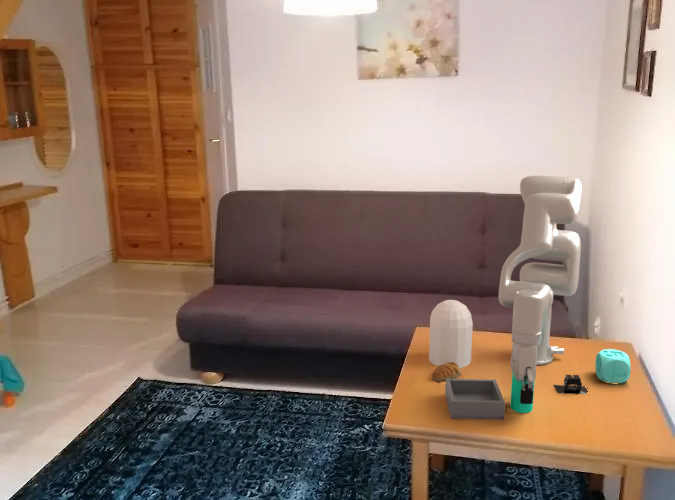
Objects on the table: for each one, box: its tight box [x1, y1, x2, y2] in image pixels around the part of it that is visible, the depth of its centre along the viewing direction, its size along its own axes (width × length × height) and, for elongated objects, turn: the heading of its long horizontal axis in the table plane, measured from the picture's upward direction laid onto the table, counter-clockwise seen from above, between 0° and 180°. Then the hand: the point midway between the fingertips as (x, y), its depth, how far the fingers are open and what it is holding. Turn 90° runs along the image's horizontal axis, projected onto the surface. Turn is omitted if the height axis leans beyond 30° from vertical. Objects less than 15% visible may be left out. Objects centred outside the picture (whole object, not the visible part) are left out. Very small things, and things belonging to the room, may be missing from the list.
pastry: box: [431, 362, 462, 382], centre depth 202 cm, size 9×7×4 cm
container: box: [428, 299, 474, 369], centre depth 212 cm, size 14×13×20 cm
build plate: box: [552, 374, 588, 395], centre depth 192 cm, size 12×7×5 cm, turn 84°
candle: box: [509, 370, 536, 414], centre depth 181 cm, size 6×6×12 cm
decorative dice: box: [594, 348, 632, 384], centre depth 199 cm, size 8×8×8 cm
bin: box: [444, 378, 506, 421], centre depth 182 cm, size 14×14×5 cm
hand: (522, 395), depth 181 cm, fingers open, 9 cm apart
